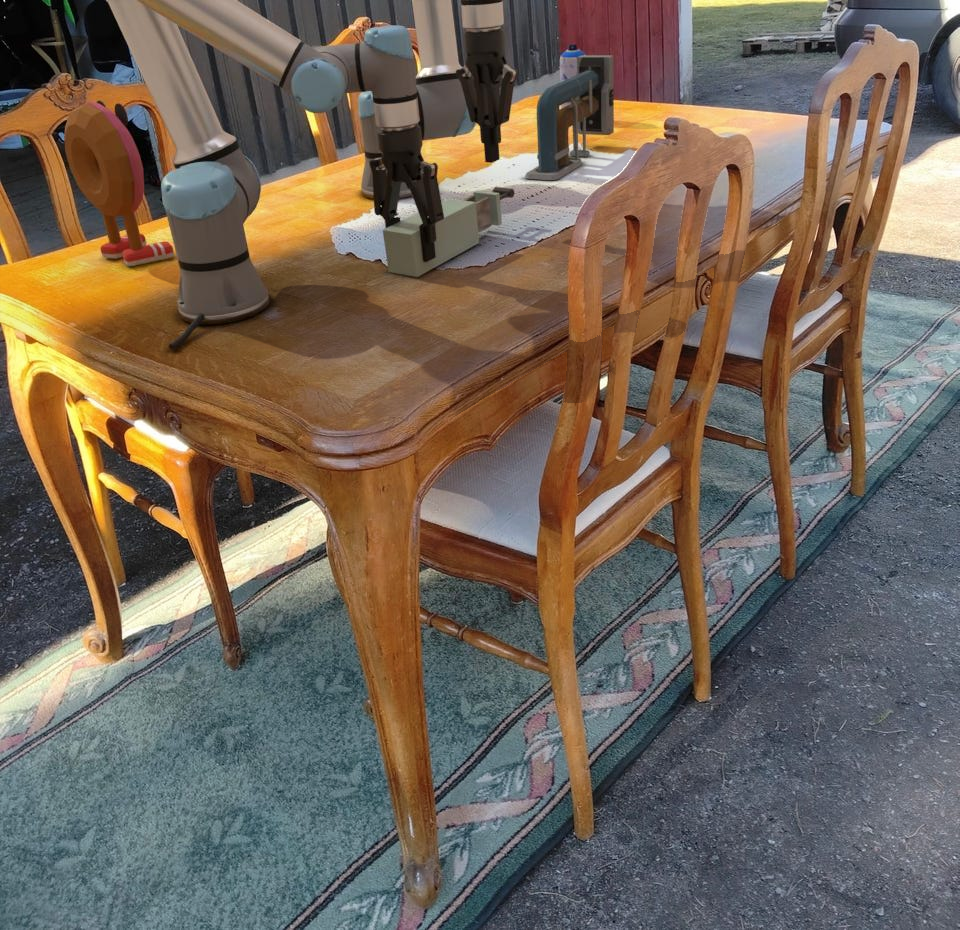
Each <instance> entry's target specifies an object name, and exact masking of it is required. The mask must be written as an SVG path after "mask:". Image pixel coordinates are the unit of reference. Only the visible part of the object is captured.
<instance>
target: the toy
mask: <svg viewBox="0 0 960 930" xmlns="http://www.w3.org/2000/svg"><path fill="white" fill-rule="evenodd" d="M128 124H129V118H128V113H127V111H126V109H125V107H124V106H123V104H121V103H119V102H118V103H115V105H114V111H112V110H111V109H109V108H107V106H106V104H105V103H104V101H101V100H97V101H91V100H89V101H88V102H86V103H84V104H81V105H79V106H77V107H75V108H74V109H72V110H71V111H70V112H69V113H68V116H67V120H66V123H65V126H64V150H65V151H64V152H65V156H66V160H67V164H68V166H69V170H70V172H71V174H72V176H73V178H74V181H75V182H76V185H77V187H78V188H79V190H80V191H81V193H82V194H83V195H84V196H85V197H86V199H87V200H88V202H90V203H91V205H92V206H94V207H95V209H97V210H99V211H100V213H101V217H102V219H103V224H104V227H105V231H106V235H107V238H108V242H106V243H104V244H102V245H101V246H100V253H101V257H102V258H105V259H113V260H116V259H121V258H122V259H123V262H124V264H125V265H126V266H127V267H135V266H140V265H144V264H150V263H154V262H159V261H164V260H167V259H172V258H174V256H175V251H174V246H172V245H171V243H170V242H169V241H160V242H156V243H151V244H148V242H147V240H146V236H145V235H144V233H140V229H139V228H140V227H139V224H138V220H137V218H136V217H137V216H136V214H135V212H136V211H137V210H138V209H139V207H140V206H141V204H142V202H143V200H144V199H143V198H144V194H145V177H144V167H143V162H142V160H141V159H142V158H141V155H140V152H139V150H138V147H137V144H136V143H135V140H134V138H133V136H132V135H131V133H130V131H129V130H128V128H127V126H128ZM117 217H122V221H123V225H124V229H125V232H126V234H124V235H122V236H121V233H120V229H119V224H118V221H117Z"/></svg>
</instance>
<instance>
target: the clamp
mask: <svg viewBox="0 0 960 930" xmlns="http://www.w3.org/2000/svg"><path fill="white" fill-rule="evenodd" d="M614 60H615V59H614V55H610V54H609V55H606V54H605V55H602V54H601V55H599V54H597V55H596V54H595V55H593V54H592V55H586V54H585V55H581V56H579V57H577V75H576V76H573V77H571V78H569V79H567V80H565V81H562V82H560V81H559V82H558V83H556V84H554V85H551V86H549V87H547V88H546V89H545V90H544V91H543V93H542V94H541V95H540V96H539V98H538V99H537V105H536V129H537V130H536V131H537V135H536V136H537V155H536V158H537V160H538V166H536V167H534V168H532V169H530V170H528V171H527V172H526V173H525V175H524V178H525V179H527V180H541V181H545V180H546V181H556V180H559V179H561V178H563V177H564V176H566V175H567V174H569V173H570V172H572V171H574V170H576V169H577V168H578V167H580V166H582V165H583V164H584V163H583V161H582V159H581V157H585V158H586V157H587V156H589V155H590V154H591V153H590V152H591V151H589V150H588V149H587V138H586V137H587V135H590V136H591V135H593V136H610V135H612V134H613V133H614V132H615V117H614V116H615V115H614V112H615V109H614V108H615V107H614V105H615V103H614V98H615V94H614V93H615V92H614V91H615V89H614V84H615V83H614V81H615V78H614V77H615V76H614V69H615V68H614V67H615V66H614V64H615V63H614ZM569 102H571V103H572V104H570V105H568V106H566V107H564V108H562V109H561V108H560V107H561V105H562V104H564V103H569ZM570 127H572V149H571V150H570V147H569V143H570V142H569V129H570ZM579 135H582V149H579Z"/></svg>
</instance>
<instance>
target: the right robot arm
mask: <svg viewBox="0 0 960 930" xmlns="http://www.w3.org/2000/svg"><path fill="white" fill-rule="evenodd" d="M460 4H461V20H462V21H461V24H462V28H463V29H464V30H465V31H464V33H463V46H464V47H463V48H464V52H465V54H466V58H465V64H464V65H463V66H461V63H460V62H459V54H458V45H457V37H456V30H455V22H454V13H453V5H452V0H411V5H412V11H413V12H412V13H413V20H414V28H415V35H416V42H417V49H418V57H419V64H420V69H419V71H418V72H417V74H416V75H415V76H416V87H417V98H418V107H419V117H420V121H419V122H418V123H417V124H418V125H419V126H420V127H421V134H422V142H424V141H431V140H438V139H445V138H456V137H458V136H464V135H469V134H470V133H472V132H473V130H474V129H475V127H476V124H477V125H478V126H479V133H480V142H481V144H483V151H484V162H485V163H488V164H489V163H491V164H492V163H494V162H496V161H499V160H500V145H499V144H501V143H502V128H501V126H502V125H503V124H505V123H508V122H509V121H510V118H511V117H510V116H511V110H512V109H511V108H512V102H513V95H514V87H515V86H514V85H515V82H516V80H517V78H518V75H519V70H518V69H516V68H514V69H512V67H510V66H509V65H508V61H507V59H506V55H505V50H506V35H505V34H506V33H505V30H504V28H503V27H502V26H503V25H504V24H505V22H504V21H505V17H504V3H503V0H460ZM501 79H502V80H501ZM357 104H358V106H357V107H358V114H357V115H358V118H359V121H360V128H361V137H362V145H363V151H364V153H363V154H364V167H363V171H362V177H361V182H360V192H361V195H362V196H363V197H364V198H367V199H371V200H374V194H373V175H372V171H371V168H370V164H369V162H370V161H371V160H373V159H376V158H379V157H382V152H381V151H380V150H379V144H378V136H377V131H378V129H379V128H380V127H378V126H376V122H375V113H374V104H373V95H372V91H366V92H360V94H359V95H358V98H357ZM421 172H422V170H421ZM386 174H387V170H386ZM422 176H423V175H422ZM412 182H416V180H415V181H412ZM410 197H413V196H412V193H411V191H410V189H408V188H407V186H406V183H404V182H402V183H401V187H400V194H399V200H400V199H406V198H410Z"/></svg>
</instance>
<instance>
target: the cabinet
mask: <svg viewBox="0 0 960 930" xmlns="http://www.w3.org/2000/svg"><path fill="white" fill-rule="evenodd" d="M463 200H464V199H454V198H445V199H443V200H441V202H442V208H443V214H444V219H443V220H441V221H439V222H437V223H435V228H436V238H437V239H436V241H435V242H434V245H435V254H436V258H434V259H432V260H430V261H428V262H423V254H422V245H421V236H420V228H419V226H420V225H421V224H423V223H422V220H421V217H420V215H419V212H418V211H417V213H415V214H412V215H411V216H408V217H406V218H403V219H402V220H400V222H398V223H396V224H394V225H392V226H390V227H388V228H386V227H385V228H383V229H382V235H383V243H384V250H385V256H386V257H385V258H386V262H387V263H386V264H387V270H388V273H392V274H398V275H402V276H409V277H413V278H418V277H420V276H422V275H424V274H426V273H427V272H429V271H431V270H433V269H435V268H436V267H438V266H440V265H443V264H444V263H446V262H447V261H449V260H451V259H452V258H455V257H457V256H458V255H460V254H462V253H463V252H465V251H467V250H469V249H471V248H473V247H474V246H476V245H478V244H479V243H480V236H479V234H480V233H478V224H477V213H476V203H475V202H471V201H463Z"/></svg>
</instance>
